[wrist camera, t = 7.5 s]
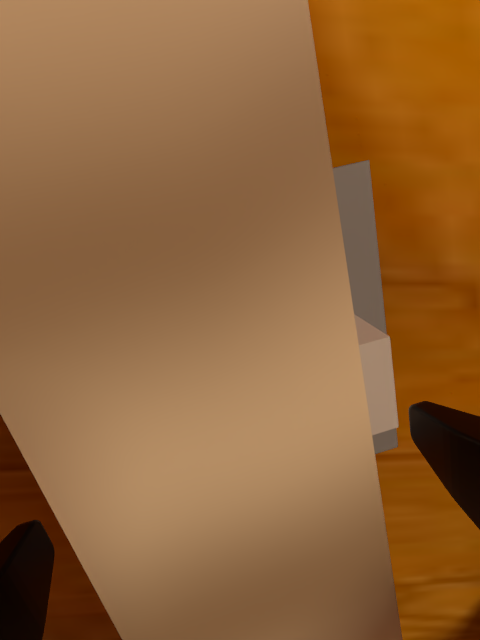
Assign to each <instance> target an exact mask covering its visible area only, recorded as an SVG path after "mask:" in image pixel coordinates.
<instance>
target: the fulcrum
mask: <svg viewBox="0 0 480 640" xmlns="http://www.w3.org/2000/svg"><path fill="white" fill-rule="evenodd" d="M333 175H334V182H335V189H336V195H337V202H338V209H339V216H340V222H341V229H342V236H343V243H344V249H345V256H346V263H347V270H348V276H349V283H350V290H351V297H352V303H353V310H354V317H355V324H356V330H357V337H358V344H359V351H360V357H361V364H362V371H363V378H364V384H365V391H366V398H367V405H368V411H369V418H370V425H371V432H372V438H373V445H374V452H375V454H377V453H380V452H383V451H386V450H389V449H392V448H396V447H398V442H397V432H396V428H397V427H399V426H398V416H397V406H396V396H395V386H394V376H393V365H392V355H391V345H390V337H389V336H388V335H387V333H386V323H385V313H384V303H383V294H382V284H381V274H380V264H379V254H378V244H377V234H376V224H375V214H374V204H373V195H372V185H371V175H370V165H369V160H367V161H362V162H357V163H353V164H348V165H344V166H340V167H336V168H333Z"/></svg>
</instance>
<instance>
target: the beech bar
mask: <svg viewBox="0 0 480 640" xmlns="http://www.w3.org/2000/svg"><path fill="white" fill-rule="evenodd" d="M0 414H1V416H2V418H3V420H4V422H5V423H6V425H7V427H8V429H9V431H10V433H11V435H12V436H13V438H14V440H15V442H16V444H17V446H18V448H19V449H20V451H21V453H22V455H23V457H24V459H25V461H26V462H27V464H28V466H29V468H30V470H31V472H32V474H33V475H34V477H35V479H36V481H37V483H38V485H39V487H40V488H41V490H42V492H43V494H44V496H45V498H46V499H47V501H48V503H49V505H50V507H51V509H52V511H53V512H54V514H55V516H56V518H57V520H58V522H59V524H60V525H61V527H62V529H63V531H64V533H65V535H66V537H67V538H68V540H69V542H70V544H71V546H72V548H73V550H74V551H75V553H76V555H77V557H78V559H79V561H80V563H81V564H82V566H83V568H84V570H85V572H86V574H87V575H88V577H89V579H90V581H91V583H92V585H93V587H94V588H95V590H96V592H97V594H98V596H99V598H100V600H101V601H102V603H103V605H104V607H105V609H106V611H107V613H108V614H109V616H110V618H111V620H112V622H113V624H114V626H115V627H116V629H117V631H118V633H119V635H120V637H121V639H122V640H402V634H401V627H400V621H399V614H398V607H397V600H396V594H395V587H394V580H393V573H392V567H391V560H390V553H389V546H388V540H387V533H386V526H385V519H384V513H383V506H382V499H381V492H380V486H379V479H378V472H377V465H376V459H375V452H374V445H373V438H372V432H371V425H370V418H369V411H368V405H367V398H366V391H365V384H364V378H363V371H362V364H361V357H360V351H359V344H358V337H357V330H356V324H355V317H354V310H353V303H352V297H351V290H350V283H349V276H348V270H347V263H346V256H345V249H344V243H343V236H342V229H341V222H340V216H339V209H338V202H337V195H336V189H335V182H334V175H333V168H332V162H331V155H330V148H329V141H328V135H327V128H326V121H325V114H324V108H323V101H322V94H321V87H320V81H319V74H318V67H317V60H316V53H315V47H314V40H313V33H312V26H311V20H310V13H309V6H308V0H0Z"/></svg>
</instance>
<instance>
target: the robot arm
mask: <svg viewBox="0 0 480 640" xmlns="http://www.w3.org/2000/svg"><path fill="white" fill-rule="evenodd" d="M409 420H410V432H411V436H412V439H413V441H414V443H415V444H416V446H417V447H418V449H419V450H420V452H421V453H422V455H423V456H424V457H425V459H426V460H427V462H428V463H429V465H430V466H431V467H432V469H433V470H434V472H435V473H436V475H437V476H438V478H439V479H440V480H441V482H442V483H443V485H444V486H445V488H446V489H447V490H448V492H449V493H450V494H451V496H452V497H453V498H454V500H455V501H456V502H457V503H458V505H459V506H460V507H461V508H462V509H463V510H464V512H465V513H466V514H467V515H468V516H469V518H470V519H471V520H472V521H473V522H474V523H475V525H476V526H477V527H478V528H479V529H480V417H479V416H476V415H473V414H469V413H466V412H462V411H459V410H455V409H452V408H449V407H445V406H442V405H438V404H435V403H431V402H428V401H423V402H419V403H416V404H413V405H411V406H410V407H409ZM53 563H54V547H53V544H52V542H51V540H50V538H49V537H48V535H47V533H46V531H45V529H44V527H43V525H42V524H41V522H40V521H38V520H33V521H29V522H26V523H23V524H20V525H18V526H17V527H15V528H14V529H13V530H12V531H11V532H10V533H9V534H8V535H7V536H6V537H5V538H4V539H3V540H2V541H1V542H0V640H42V637H43V633H44V627H45V621H46V614H47V606H48V599H49V592H50V585H51V577H52V570H53Z"/></svg>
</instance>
